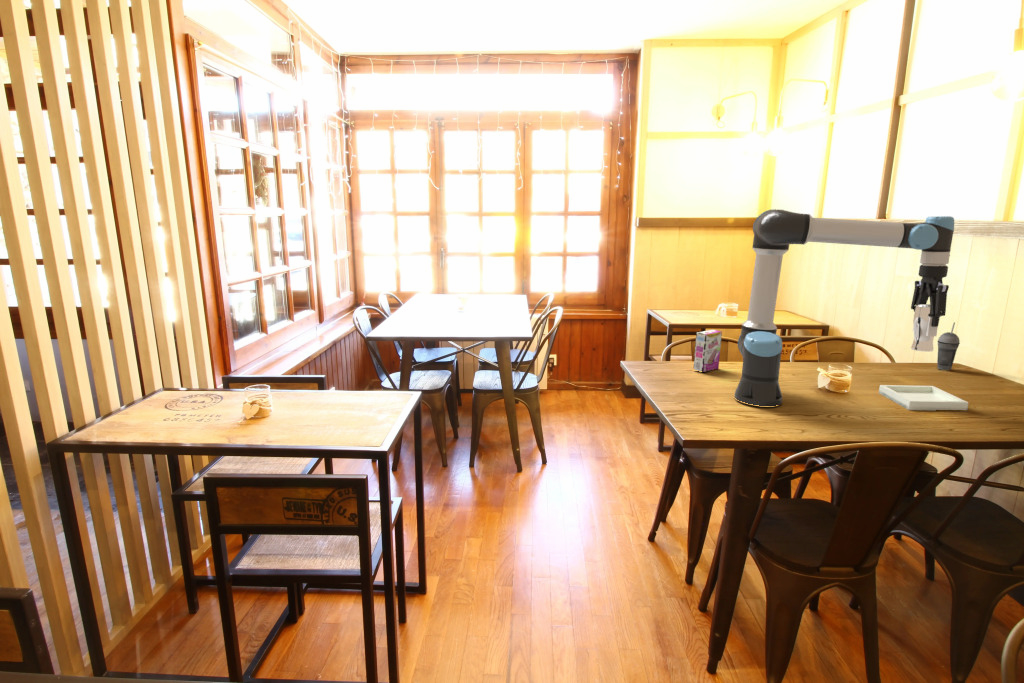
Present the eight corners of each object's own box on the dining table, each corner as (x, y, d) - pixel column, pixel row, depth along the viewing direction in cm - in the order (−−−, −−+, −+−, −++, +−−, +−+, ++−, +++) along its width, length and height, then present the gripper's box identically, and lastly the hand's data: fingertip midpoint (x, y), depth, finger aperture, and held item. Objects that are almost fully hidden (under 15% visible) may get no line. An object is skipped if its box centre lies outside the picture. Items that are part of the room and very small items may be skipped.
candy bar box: (703, 373, 228) (706, 334, 224) (692, 371, 232) (695, 332, 228) (719, 369, 234) (722, 330, 231) (709, 366, 238) (712, 328, 235)
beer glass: (939, 350, 187) (946, 306, 184) (925, 352, 185) (932, 307, 181) (918, 346, 193) (924, 303, 190) (904, 348, 191) (910, 304, 188)
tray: (908, 409, 184) (909, 401, 184) (878, 392, 202) (879, 384, 201) (966, 411, 183) (968, 402, 182) (931, 393, 200) (933, 385, 200)
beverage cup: (945, 367, 235) (953, 320, 230) (959, 371, 228) (968, 323, 223) (928, 367, 234) (936, 320, 230) (942, 372, 227) (950, 323, 223)
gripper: (967, 267, 173) (956, 340, 178) (927, 262, 192) (918, 327, 197) (941, 267, 174) (930, 340, 179) (904, 262, 193) (895, 328, 198)
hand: (924, 333), depth 188 cm, fingers closed on beer glass, 7 cm apart
